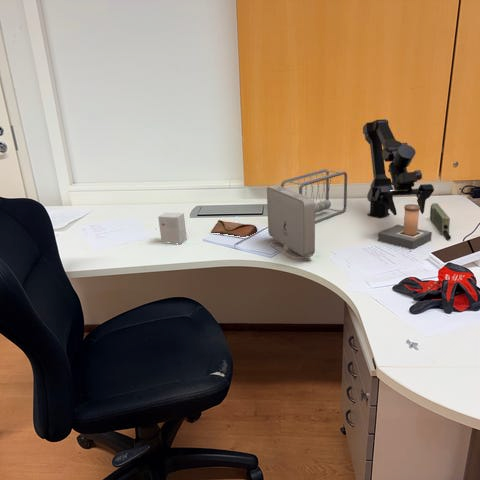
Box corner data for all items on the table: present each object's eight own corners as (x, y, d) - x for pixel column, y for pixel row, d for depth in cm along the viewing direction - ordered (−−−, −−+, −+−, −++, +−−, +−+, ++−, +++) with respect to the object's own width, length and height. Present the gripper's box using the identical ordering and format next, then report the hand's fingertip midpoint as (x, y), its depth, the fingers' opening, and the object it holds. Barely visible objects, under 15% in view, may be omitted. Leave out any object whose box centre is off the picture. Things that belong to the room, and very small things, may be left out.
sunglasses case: (206, 233, 173) (210, 217, 174) (215, 237, 179) (219, 221, 180) (247, 239, 164) (250, 222, 165) (255, 243, 170) (258, 226, 171)
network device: (263, 240, 162) (260, 186, 155) (284, 236, 165) (283, 183, 158) (298, 264, 140) (297, 202, 133) (322, 258, 143) (322, 198, 136)
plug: (399, 243, 152) (401, 206, 148) (406, 239, 155) (409, 203, 150) (412, 246, 148) (415, 209, 144) (419, 242, 151) (422, 205, 147)
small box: (187, 239, 168) (184, 212, 164) (180, 244, 163) (177, 217, 159) (168, 238, 170) (165, 211, 167) (161, 243, 165) (157, 216, 162)
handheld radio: (438, 219, 174) (454, 241, 151) (429, 219, 175) (443, 241, 152) (439, 202, 172) (455, 222, 149) (430, 203, 173) (445, 222, 150)
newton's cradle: (301, 229, 172) (300, 184, 166) (281, 224, 179) (280, 180, 173) (346, 211, 190) (347, 170, 184) (327, 207, 198) (327, 168, 192)
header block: (377, 240, 155) (378, 231, 154) (396, 232, 162) (397, 223, 161) (412, 249, 146) (413, 239, 145) (430, 240, 153) (431, 230, 152)
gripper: (379, 163, 150) (388, 203, 143) (434, 160, 150) (446, 200, 143) (371, 182, 160) (379, 220, 153) (422, 178, 160) (433, 216, 153)
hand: (409, 214), depth 150 cm, fingers open, 9 cm apart
